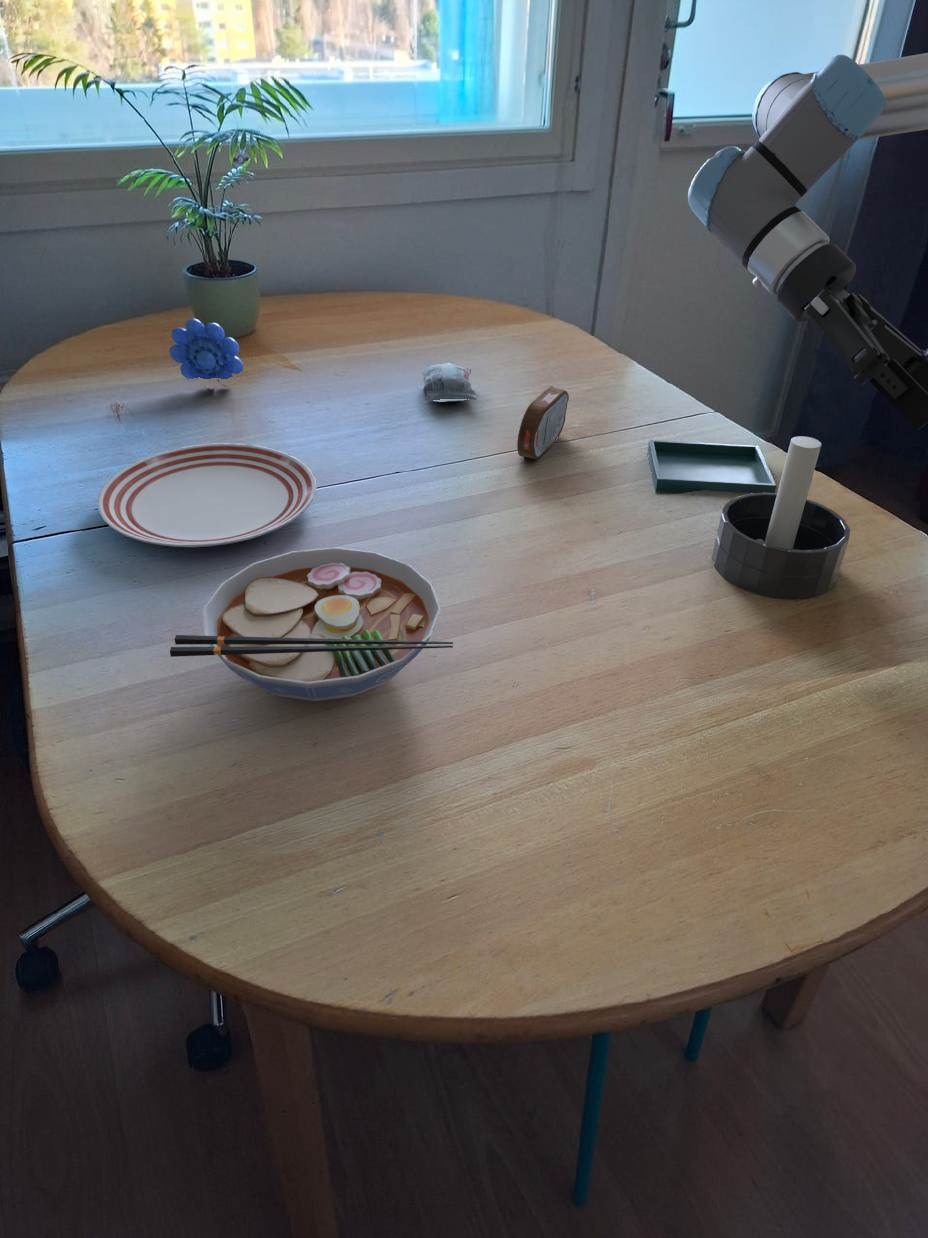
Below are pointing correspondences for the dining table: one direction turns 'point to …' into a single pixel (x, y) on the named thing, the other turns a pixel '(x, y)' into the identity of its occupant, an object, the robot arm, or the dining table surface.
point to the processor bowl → (779, 549)
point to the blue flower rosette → (205, 351)
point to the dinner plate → (207, 495)
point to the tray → (708, 468)
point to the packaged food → (447, 382)
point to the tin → (542, 422)
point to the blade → (792, 492)
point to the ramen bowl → (318, 622)
